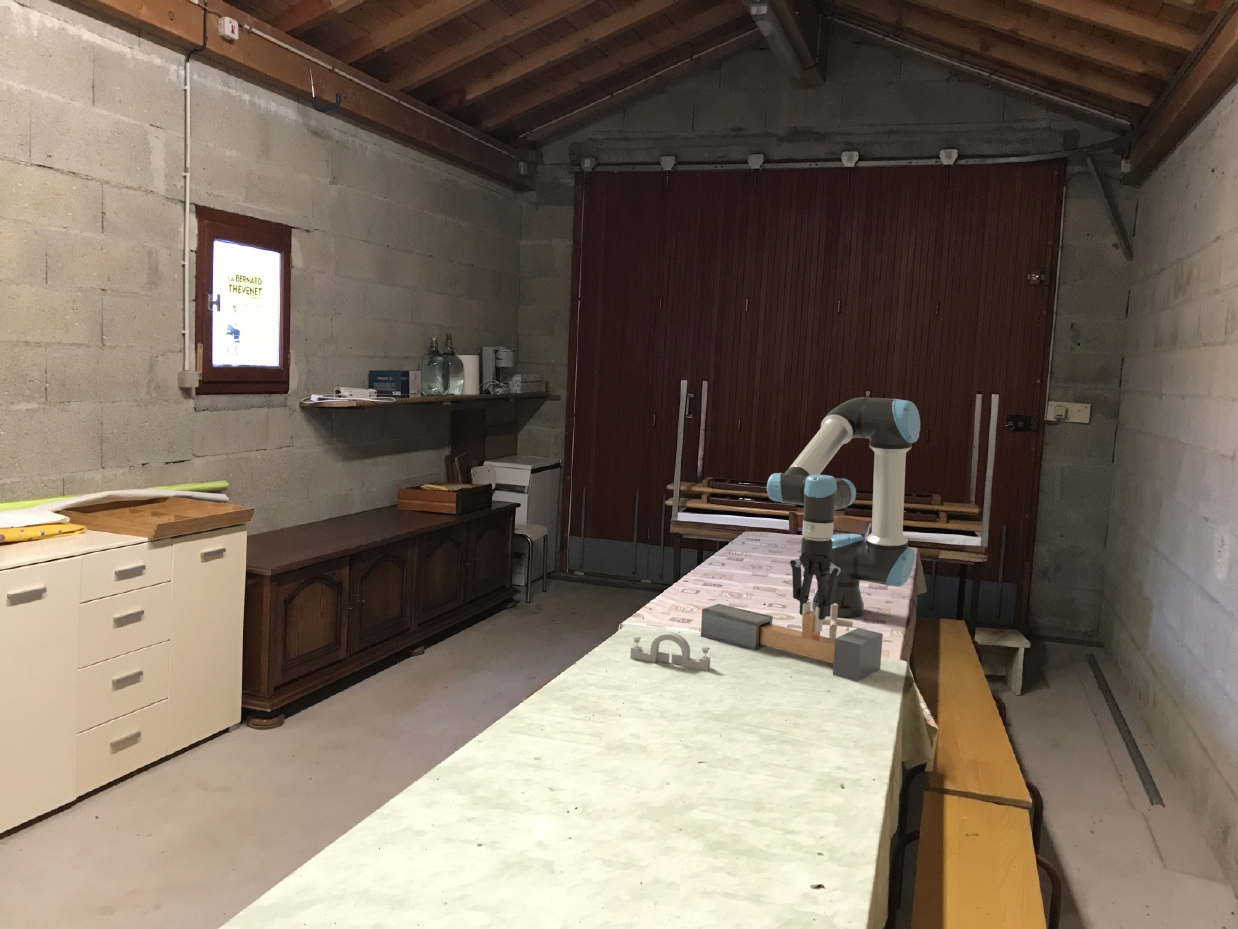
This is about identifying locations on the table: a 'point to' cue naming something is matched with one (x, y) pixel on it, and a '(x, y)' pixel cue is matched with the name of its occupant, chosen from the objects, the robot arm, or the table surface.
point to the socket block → (857, 654)
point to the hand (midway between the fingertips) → (811, 629)
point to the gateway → (678, 659)
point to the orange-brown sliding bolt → (798, 639)
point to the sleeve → (733, 625)
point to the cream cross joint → (835, 621)
